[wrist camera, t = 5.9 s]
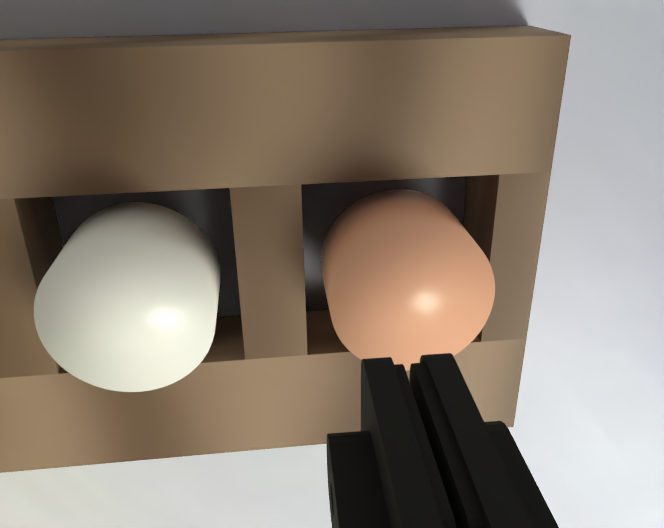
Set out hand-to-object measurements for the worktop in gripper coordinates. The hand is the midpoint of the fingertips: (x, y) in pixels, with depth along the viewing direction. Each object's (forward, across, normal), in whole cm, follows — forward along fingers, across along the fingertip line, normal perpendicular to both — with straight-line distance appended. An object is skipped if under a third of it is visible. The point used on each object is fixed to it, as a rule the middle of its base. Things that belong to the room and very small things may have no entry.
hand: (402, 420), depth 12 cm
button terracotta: (+7, -1, 0) cm, 7 cm away
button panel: (+8, +6, 0) cm, 10 cm away
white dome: (+7, +6, 0) cm, 9 cm away
